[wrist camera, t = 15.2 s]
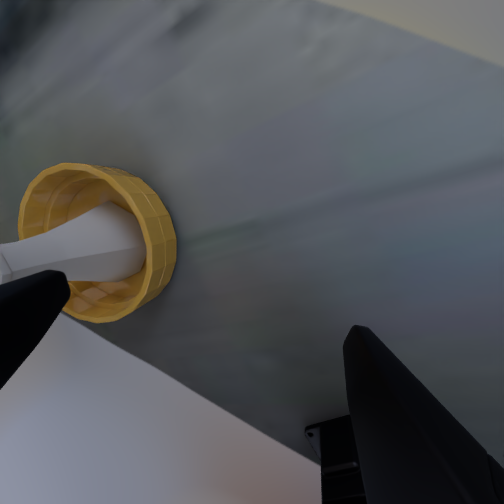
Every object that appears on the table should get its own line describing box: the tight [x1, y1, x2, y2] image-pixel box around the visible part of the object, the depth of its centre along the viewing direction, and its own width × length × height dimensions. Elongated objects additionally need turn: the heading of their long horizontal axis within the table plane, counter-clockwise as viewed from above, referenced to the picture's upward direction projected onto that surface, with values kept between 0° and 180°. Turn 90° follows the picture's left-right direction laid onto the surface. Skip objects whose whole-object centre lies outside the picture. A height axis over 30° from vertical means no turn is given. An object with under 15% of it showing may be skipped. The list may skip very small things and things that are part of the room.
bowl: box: [18, 163, 177, 323], centre depth 22 cm, size 13×13×4 cm
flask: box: [0, 201, 146, 285], centre depth 18 cm, size 7×7×10 cm
